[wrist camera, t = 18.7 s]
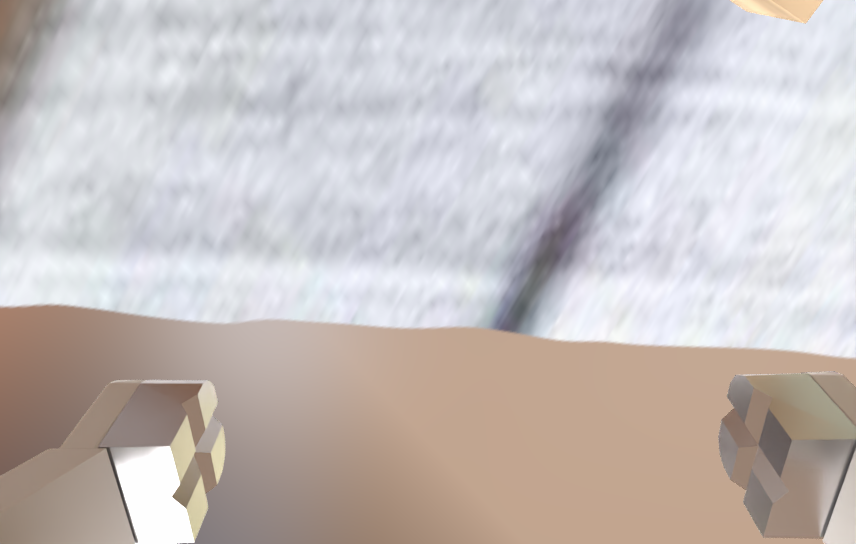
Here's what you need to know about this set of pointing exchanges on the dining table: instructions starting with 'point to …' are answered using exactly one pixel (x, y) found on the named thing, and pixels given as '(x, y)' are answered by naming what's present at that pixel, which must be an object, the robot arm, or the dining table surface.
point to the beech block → (781, 8)
